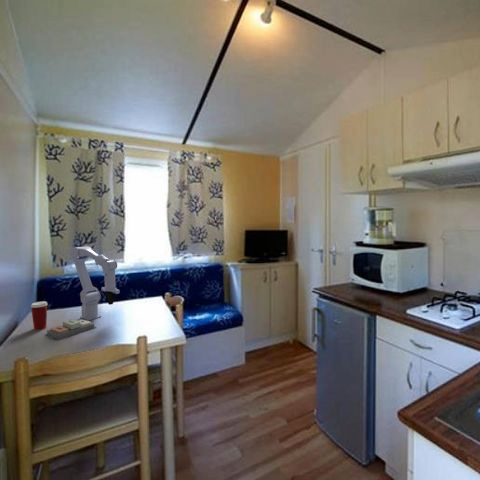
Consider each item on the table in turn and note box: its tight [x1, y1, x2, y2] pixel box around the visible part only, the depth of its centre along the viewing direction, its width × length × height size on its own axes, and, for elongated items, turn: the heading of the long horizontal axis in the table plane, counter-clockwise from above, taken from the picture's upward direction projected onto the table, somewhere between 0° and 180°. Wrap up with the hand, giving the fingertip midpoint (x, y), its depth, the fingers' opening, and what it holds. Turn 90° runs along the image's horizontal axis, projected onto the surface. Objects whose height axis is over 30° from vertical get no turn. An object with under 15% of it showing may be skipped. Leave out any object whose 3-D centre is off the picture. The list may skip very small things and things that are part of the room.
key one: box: [76, 318, 92, 327], centre depth 159 cm, size 9×4×3 cm, turn 58°
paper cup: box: [30, 301, 48, 331], centre depth 158 cm, size 8×8×14 cm
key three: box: [49, 325, 69, 334], centre depth 149 cm, size 9×4×3 cm, turn 58°
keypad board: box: [44, 322, 97, 341], centre depth 154 cm, size 13×20×2 cm, turn 148°
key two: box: [62, 319, 80, 329], centre depth 153 cm, size 9×4×3 cm, turn 58°
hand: (110, 304), depth 167 cm, fingers closed
